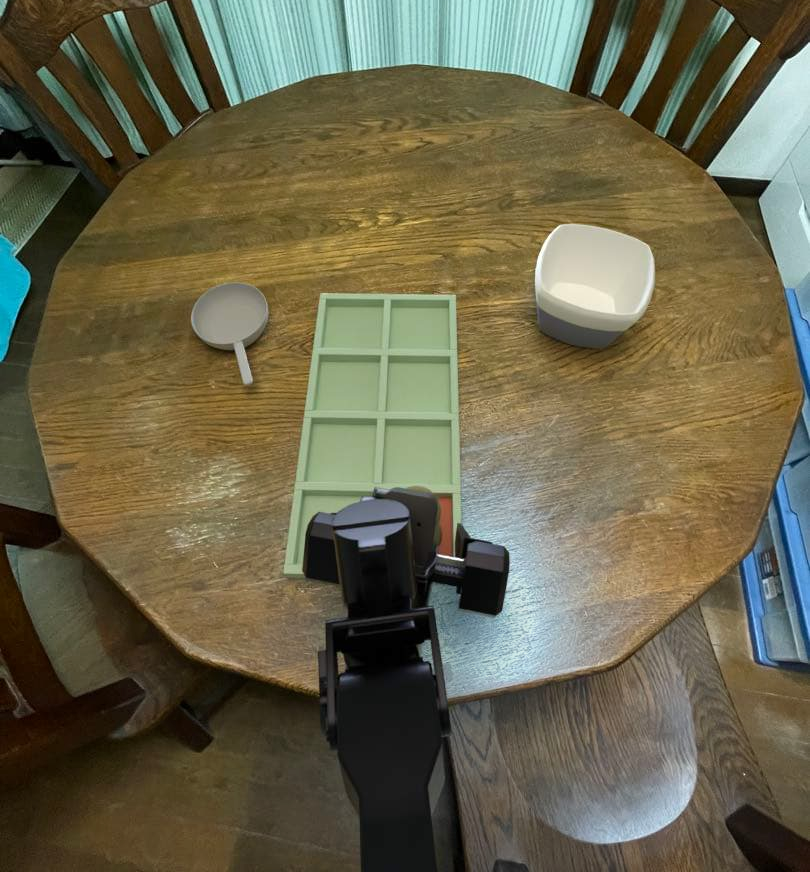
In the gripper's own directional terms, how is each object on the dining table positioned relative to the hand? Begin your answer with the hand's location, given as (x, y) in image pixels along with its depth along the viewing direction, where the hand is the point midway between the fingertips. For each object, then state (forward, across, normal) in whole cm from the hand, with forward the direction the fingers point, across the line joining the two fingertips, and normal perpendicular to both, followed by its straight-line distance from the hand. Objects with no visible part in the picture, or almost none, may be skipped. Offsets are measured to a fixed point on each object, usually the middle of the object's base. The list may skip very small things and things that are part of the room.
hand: (415, 519), depth 63 cm
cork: (+6, 0, +5) cm, 8 cm away
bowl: (+31, -18, -20) cm, 41 cm away
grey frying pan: (+22, +30, -10) cm, 38 cm away
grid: (+16, +7, -4) cm, 18 cm away
